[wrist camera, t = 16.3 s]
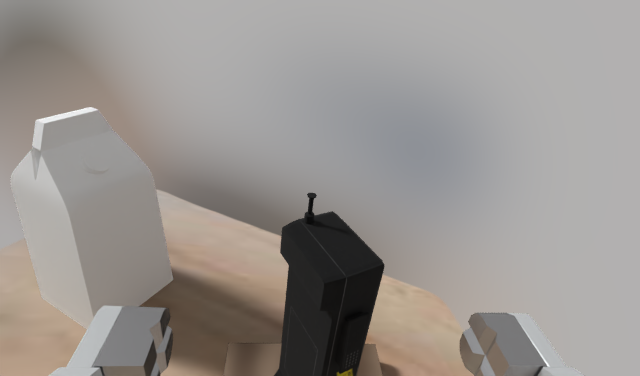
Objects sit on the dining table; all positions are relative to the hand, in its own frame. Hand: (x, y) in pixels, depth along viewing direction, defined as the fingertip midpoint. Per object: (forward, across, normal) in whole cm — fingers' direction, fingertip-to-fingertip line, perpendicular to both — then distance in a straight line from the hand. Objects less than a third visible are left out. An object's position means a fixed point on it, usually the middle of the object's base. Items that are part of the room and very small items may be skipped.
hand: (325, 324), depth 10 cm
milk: (+33, +24, +34) cm, 53 cm away
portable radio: (+14, -4, +31) cm, 34 cm away
